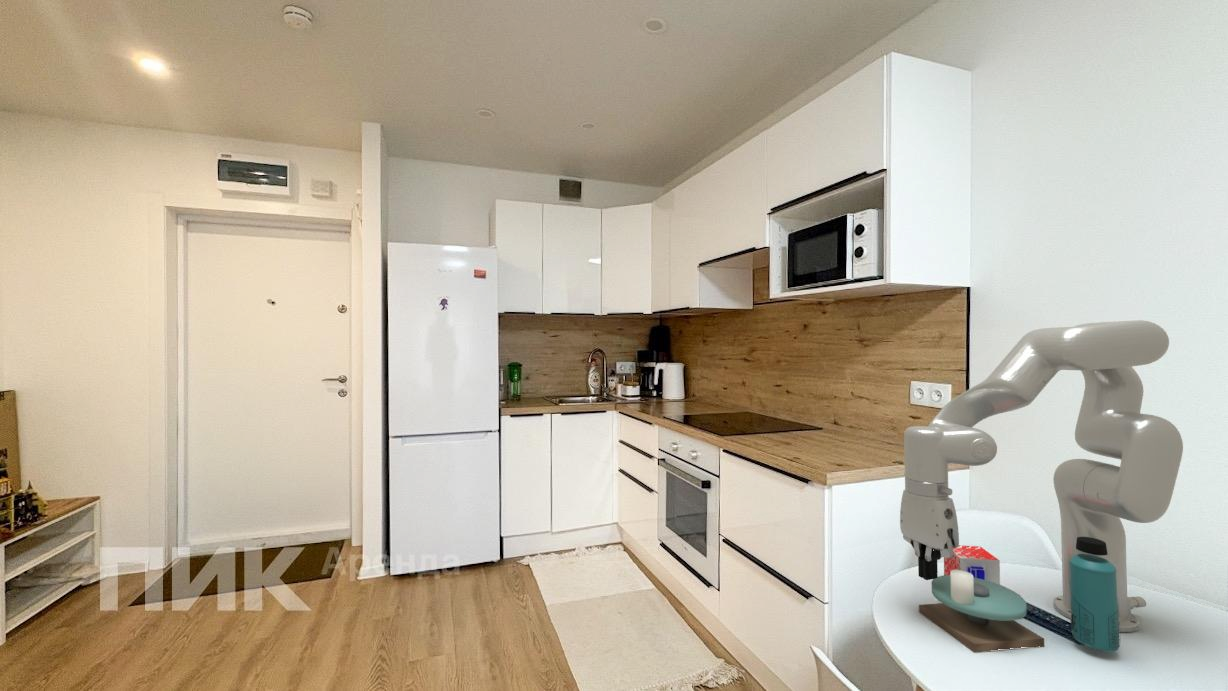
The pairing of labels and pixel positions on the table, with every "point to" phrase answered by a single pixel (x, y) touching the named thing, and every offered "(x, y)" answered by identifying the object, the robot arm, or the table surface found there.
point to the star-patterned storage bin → (974, 563)
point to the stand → (980, 629)
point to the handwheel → (978, 597)
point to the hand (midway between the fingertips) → (928, 577)
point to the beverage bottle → (1094, 597)
